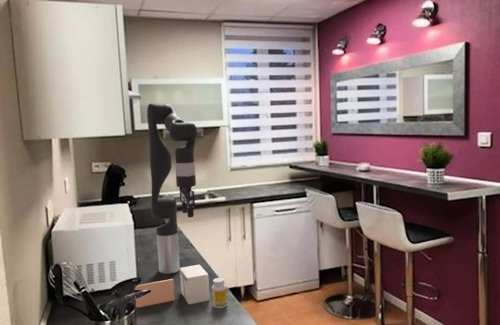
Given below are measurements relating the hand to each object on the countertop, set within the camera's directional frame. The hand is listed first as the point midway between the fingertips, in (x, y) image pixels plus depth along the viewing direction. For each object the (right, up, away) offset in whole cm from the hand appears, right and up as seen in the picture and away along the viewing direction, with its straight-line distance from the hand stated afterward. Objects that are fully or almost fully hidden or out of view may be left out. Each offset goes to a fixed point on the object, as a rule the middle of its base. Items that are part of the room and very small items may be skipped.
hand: (188, 214), depth 167 cm
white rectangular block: (+3, -31, -5) cm, 31 cm away
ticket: (-10, -31, -10) cm, 35 cm away
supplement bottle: (+14, -31, -13) cm, 37 cm away
